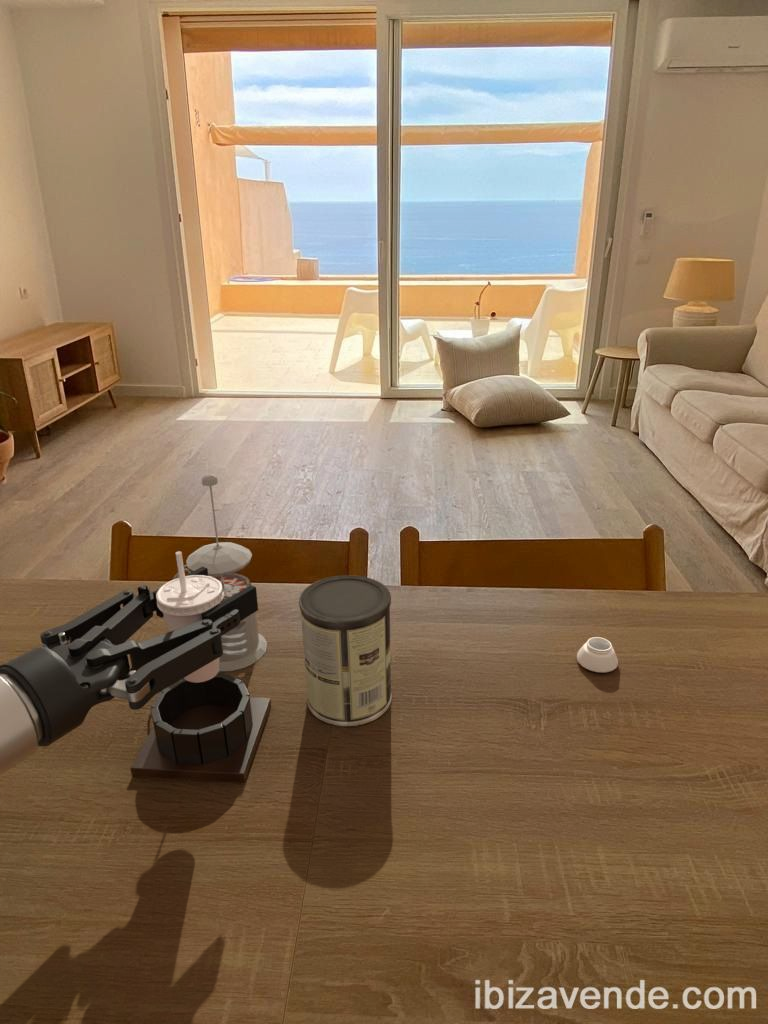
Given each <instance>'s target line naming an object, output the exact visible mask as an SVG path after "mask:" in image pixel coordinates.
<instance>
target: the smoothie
mask: <svg viewBox="0 0 768 1024" xmlns="http://www.w3.org/2000/svg"><path fill="white" fill-rule="evenodd" d="M175 560H176V565H177V566H176V567H177V573H179V578H177V577H176V579H174V580H173V579H171V580H170V581H168V582H166V583H164V584H163V585H162V586H160V587H159V588H160V589H159V588H158V589H159V590H158V591H157V594H156V599H157V607H158V608H159V609H160V611H162V612H163V615H164V617H163V618H164V622H165V625H166V628H167V631H168V632H170V631H173V630H176V629H179V628H182V627H185V626H187V625H190V624H193V623H196V622H199V621H201V620H202V613H204V612H206V611H207V610H209V609H211V608H212V607H214V606H216V605H218V604H219V603H221V601H222V599H223V596H224V593H223V590H222V584H221V583H220V582H219V581H218V580H217V579H215V578H213V577H210V576H211V575H210V576H204V575H190V576H185V575H186V574H185V571H184V569H185V568H184V559H183V552H182V551H181V550H180V551H179V550H178V551H176V552H175ZM200 635H201V634H200ZM217 673H220V671H219V658H217V659H216V660H214V661H212V662H210V663H209V664H207V665H205V666H203V667H202V668H200V669H198V670H197V671H195V672H193V673H191V674H190V675H188V676H186V677H184V679H185V680H187V681H189V682H195V683H198V682H204V681H207V680H210V679H212V678H213V677H215V676H216V675H217Z"/></svg>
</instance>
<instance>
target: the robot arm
mask: <svg viewBox="0 0 768 1024" xmlns="http://www.w3.org/2000/svg"><path fill="white" fill-rule="evenodd" d="M190 575H204V576H208V568H205V567H203V566H202V567H201V568H199V569H197V570H195V571H191V573H187V574H185V576H190ZM160 588H161V587H158V588H157V589H155V590H153V591H150V587H149V586H148V585H140V586H137V593H138V594H134V591H133V589H125V590H123V591H121V592H119V593H117V594H116V595H114V596H112V597H109V598H108V599H106V600H104V601H103V602H101V603H99V604H98V605H96V606H94V607H92V608H91V609H89V610H87V611H85V612H83V613H81V614H80V615H79V616H77V617H75V618H73V619H71V620H69V621H68V622H66V623H65V624H62V625H59V626H56V627H53V628H51V629H47V630H44V631H42V632H41V633H40V635H39V637H40V641H41V645H42V646H36V647H33V648H31V649H30V650H28V651H25V652H24V653H22V654H20V655H18V656H16V657H14V658H12V659H9V660H8V661H6V662H4V663H2V664H0V776H1V775H3V774H4V773H6V772H8V771H9V770H11V769H12V768H14V767H16V766H17V765H19V764H20V763H22V762H24V761H25V760H26V759H29V758H30V757H31V756H34V754H36V753H37V750H38V748H39V747H43V748H44V747H45V748H47V747H49V746H50V745H52V744H53V743H55V742H56V741H58V740H60V739H62V738H63V737H64V736H66V735H68V734H70V733H71V732H73V731H74V730H76V729H77V728H79V727H81V725H83V723H84V722H85V719H86V717H87V715H88V713H89V712H90V710H91V709H92V708H93V707H95V706H97V705H99V704H102V703H105V702H109V701H111V700H114V698H119V699H122V700H126V701H127V702H128V705H129V709H130V710H133V711H137V710H140V709H143V708H144V706H146V704H147V703H148V702H150V701H151V699H152V698H154V696H156V695H158V694H159V692H161V691H162V690H164V689H165V688H167V687H169V686H171V685H172V684H174V683H176V682H178V681H179V680H180V681H181V679H183V678H184V677H186V676H188V675H190V674H191V673H193V672H195V671H197V670H198V669H200V668H202V667H203V666H205V665H207V664H209V663H210V662H212V661H214V660H216V659H217V658H219V657H221V656H222V655H223V647H222V639H221V636H222V635H224V634H226V633H227V632H229V631H230V630H232V629H233V628H235V627H237V626H238V625H239V624H240V621H242V620H243V619H245V618H246V617H248V616H250V615H251V614H253V613H254V612H256V613H257V612H258V611H259V606H258V605H259V603H258V594H257V593H258V592H257V587H256V586H254V585H252V584H251V585H250V586H248V587H246V588H245V589H243V590H241V591H240V592H238V593H236V594H235V595H233V596H231V597H229V598H228V599H226V600H224V601H223V602H220V603H219V604H218V605H216V606H214V607H212V608H211V609H209V610H207V611H206V612H204V613H202V620H201V621H199V622H196V623H193V624H190V625H187V626H185V627H182V628H179V629H176V630H173V631H170V632H169V631H168V632H165V633H162V634H160V635H156V636H154V637H151V638H148V639H146V640H143V641H140V642H136V640H129V639H130V638H131V637H132V636H133V635H134V634H136V633H137V632H138V631H139V630H140V629H141V628H142V627H143V626H144V625H145V624H146V623H147V622H148V621H150V619H152V618H153V617H154V612H155V614H156V616H157V617H158V618H164V615H163V612H162V611H160V609H159V608H158V607H157V599H156V594H157V591H158V590H159V589H160ZM121 606H122V607H121ZM200 634H201V635H200ZM128 655H129V656H128Z"/></svg>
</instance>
